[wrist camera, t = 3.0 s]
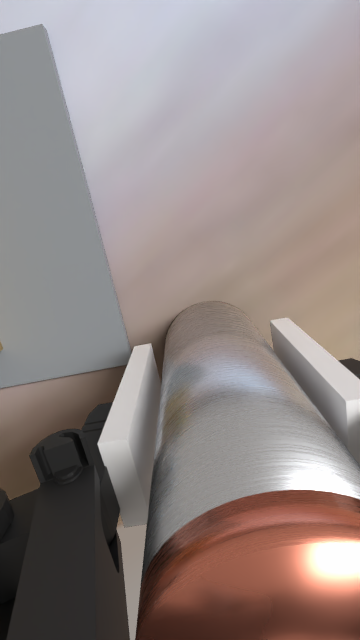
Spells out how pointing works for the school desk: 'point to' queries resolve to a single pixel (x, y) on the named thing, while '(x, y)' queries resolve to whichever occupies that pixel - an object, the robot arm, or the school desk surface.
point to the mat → (48, 230)
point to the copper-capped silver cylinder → (245, 496)
